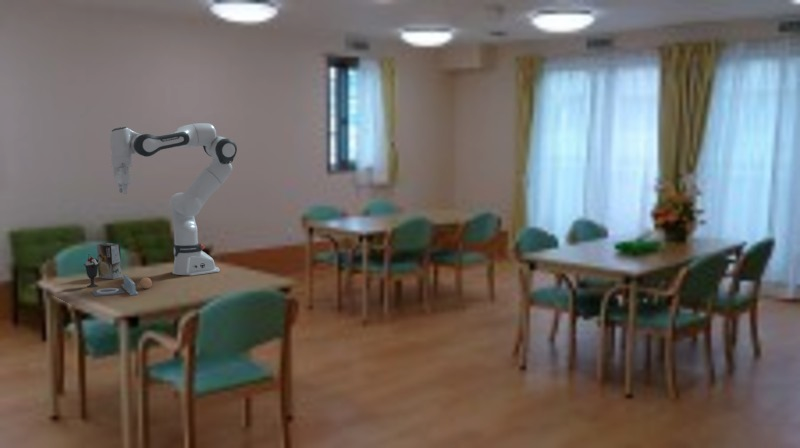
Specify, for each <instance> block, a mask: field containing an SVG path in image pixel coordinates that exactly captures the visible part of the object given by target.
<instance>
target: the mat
mask: <svg viewBox="0 0 800 448" xmlns="http://www.w3.org/2000/svg"><path fill="white" fill-rule="evenodd" d="M90 291H91V293H92V294H93V296H94V297H104V296H105V297H106V296H114V295H115V294H116V295H124V293H125V292H126V291H124V290H123V289H122V288H121V287H105V288H99V289H92V290H90ZM125 294H126V293H125Z"/></svg>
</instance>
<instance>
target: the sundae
mask: <svg viewBox="0 0 800 448" xmlns="http://www.w3.org/2000/svg"><path fill="white" fill-rule="evenodd" d="M98 265H99V263H98V258H94V257H93V256H91V255H90V254H88V258H87V261H86V262H85V263H84V264H83V266H84V267H85V271H86V276H87V277H88V278H89V279H90V284H88V285H87V286H86V287H87V288H97V287H99V284H95V281H94V280H95V278H96V277H97V276H98Z"/></svg>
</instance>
